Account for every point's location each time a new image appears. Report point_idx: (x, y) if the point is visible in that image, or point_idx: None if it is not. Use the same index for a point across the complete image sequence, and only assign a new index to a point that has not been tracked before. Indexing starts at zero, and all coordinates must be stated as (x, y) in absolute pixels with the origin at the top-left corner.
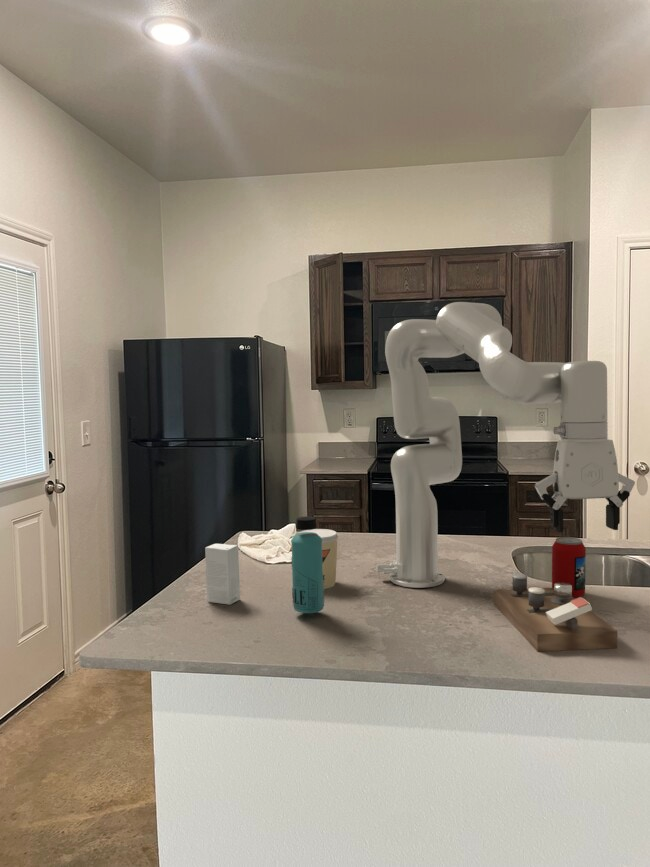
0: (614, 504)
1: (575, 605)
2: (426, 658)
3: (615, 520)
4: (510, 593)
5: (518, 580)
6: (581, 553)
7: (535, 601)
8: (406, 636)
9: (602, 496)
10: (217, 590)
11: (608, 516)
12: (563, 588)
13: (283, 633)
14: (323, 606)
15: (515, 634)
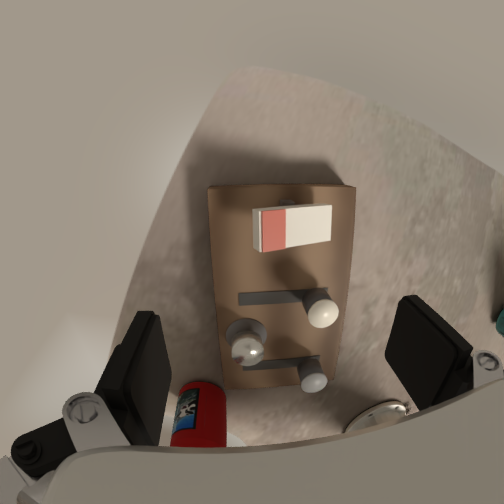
0: (115, 420)
1: (285, 223)
2: (466, 188)
3: (139, 336)
4: None
5: (320, 371)
6: (181, 434)
7: (326, 293)
8: (464, 255)
9: (241, 453)
10: None
11: (158, 392)
12: (253, 340)
13: None
14: (499, 317)
15: None
